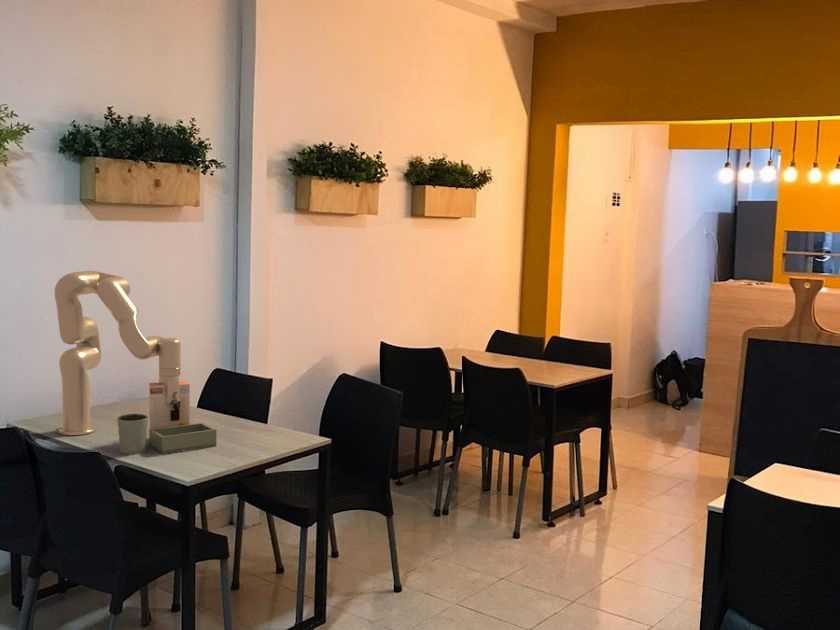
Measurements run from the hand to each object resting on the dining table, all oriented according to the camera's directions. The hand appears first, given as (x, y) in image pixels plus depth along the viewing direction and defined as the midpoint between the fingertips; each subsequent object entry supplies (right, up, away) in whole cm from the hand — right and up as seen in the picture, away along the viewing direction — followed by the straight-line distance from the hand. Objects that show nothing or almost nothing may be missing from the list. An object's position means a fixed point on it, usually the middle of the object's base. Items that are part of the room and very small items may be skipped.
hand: (169, 417), depth 311 cm
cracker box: (0, -8, +1) cm, 8 cm away
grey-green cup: (-8, -10, -16) cm, 21 cm away
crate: (+7, -9, -8) cm, 14 cm away
